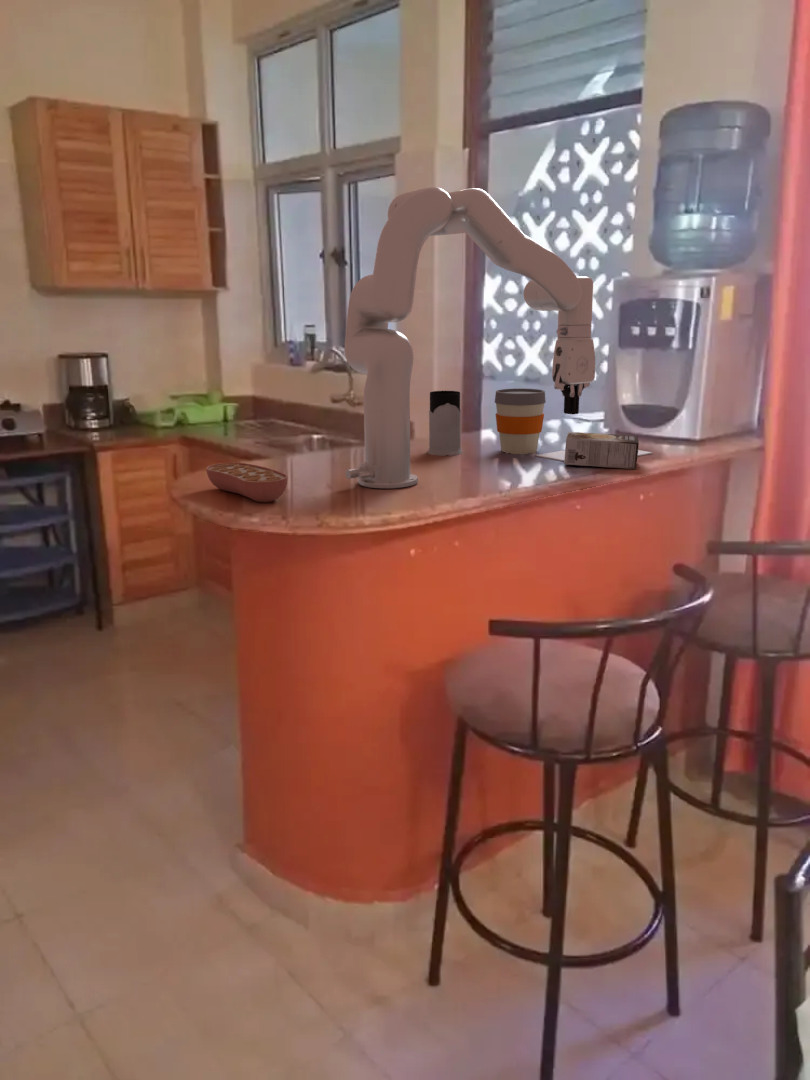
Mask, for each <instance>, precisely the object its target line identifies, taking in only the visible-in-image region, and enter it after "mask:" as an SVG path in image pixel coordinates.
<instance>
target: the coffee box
mask: <svg viewBox="0 0 810 1080" xmlns="http://www.w3.org/2000/svg"><path fill="white" fill-rule="evenodd" d="M564 450H565V461H563V462H564V465H570V466H582V467H583V466H584V467H599V468H612V469H626V470H628V469H629V470H636V469H637V462H638V457H639V456H638V450H639V435H633V434H632V435H630V434H628V435H627V434H617V433H616V434H611V433H595V432H579V431H578V432H577V431H575V432H574V431H570V432H569V431H568V433H567V436H566V438H565V449H564Z"/></svg>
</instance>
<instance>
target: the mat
mask: <svg viewBox="0 0 810 1080" xmlns="http://www.w3.org/2000/svg"><path fill="white" fill-rule="evenodd" d="M652 454H653V452H652V451H645V450H642V449H641V450H640V449H638V457H642V456H648V455H652ZM535 457H538V458H544V459H549V460H553V461H560V462H564V461H565V449H564V450H558V451H552V452H546V453H540V454H536V455H535Z"/></svg>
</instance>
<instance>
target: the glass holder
mask: <svg viewBox="0 0 810 1080" xmlns="http://www.w3.org/2000/svg"><path fill="white" fill-rule="evenodd" d="M461 411H462V410H461V392H460V391H459V390H457V391H456V390H435V391H430V392H429V410H428V413H429V415H428V417H429V418H428V419H429V421H428V422H429V423H428V426H429V428H428V429H429V430H428V431H429V435H428V439H429V441H428V442H429V443H428V444H429V445H428V450H427V454H429V455H432V456H439V457H440V456H441V457H442V456H444V457H446V455H449V456H457V455H461V454H462V453H463V450H462V447H461V446H462V445H461V444H462V443H461V442H462V441H461V440H462V438H461V437H462V436H461V434H462V433H461V431H462V429H461V428H462V427H461V425H462V423H461V421H462V419H461V418H462V412H461Z"/></svg>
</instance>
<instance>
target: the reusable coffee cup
mask: <svg viewBox="0 0 810 1080" xmlns="http://www.w3.org/2000/svg"><path fill="white" fill-rule="evenodd" d="M494 395H495V397H494V404H495V405H496V406H495V407H496V408H495V409H496V413H495V421H496V431H497V432H498V435H499V444H500V452H501V451H503V452H506V453H505V454H508V453H511V455H529V454H528V453H531V454H535V453H537V451H538V447H539V446H538V445H539V438H540V434H541V433H542V430H543V425H544V420H545V419H544V417H545V414H544V408H545V404H546V391H545V390H543V389H538V388H504V389H503V388H501V389H497V390H495V394H494ZM503 452H502V453H503Z"/></svg>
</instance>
